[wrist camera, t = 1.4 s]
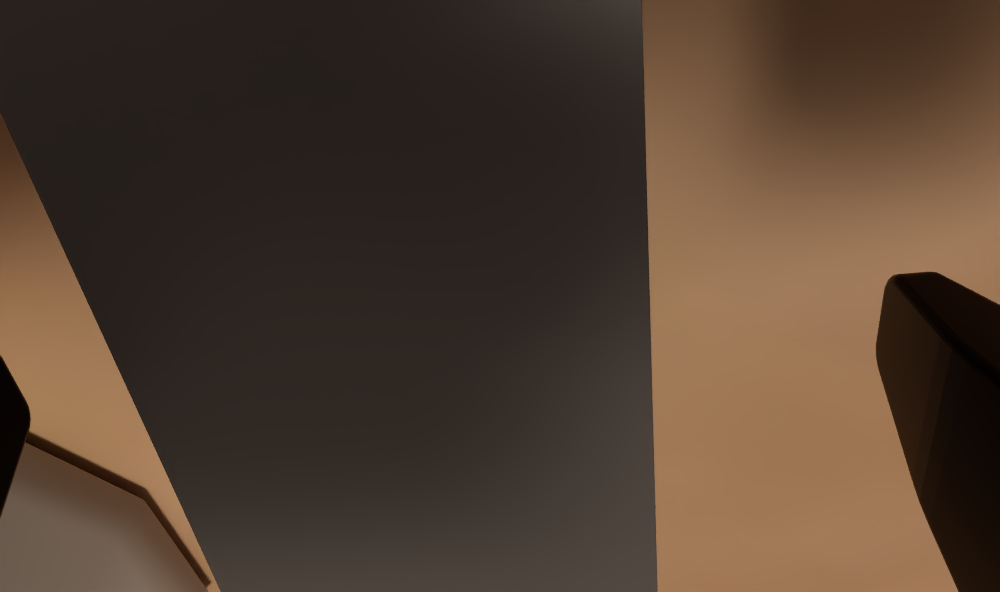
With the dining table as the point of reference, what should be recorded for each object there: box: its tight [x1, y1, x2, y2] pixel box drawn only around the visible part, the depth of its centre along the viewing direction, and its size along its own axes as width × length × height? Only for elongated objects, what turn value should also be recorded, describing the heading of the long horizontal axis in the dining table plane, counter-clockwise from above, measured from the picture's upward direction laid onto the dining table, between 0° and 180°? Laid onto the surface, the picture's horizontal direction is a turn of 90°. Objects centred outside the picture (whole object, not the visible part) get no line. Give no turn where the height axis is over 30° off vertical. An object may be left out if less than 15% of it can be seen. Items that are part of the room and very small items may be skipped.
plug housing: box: [0, 0, 657, 592], centre depth 10 cm, size 4×9×6 cm, turn 7°
